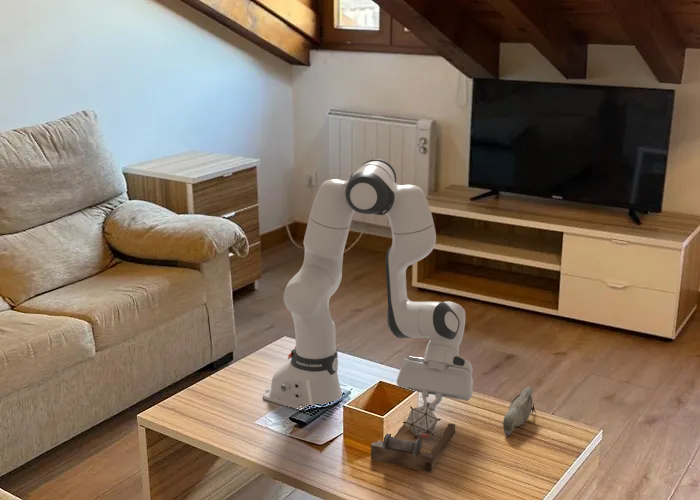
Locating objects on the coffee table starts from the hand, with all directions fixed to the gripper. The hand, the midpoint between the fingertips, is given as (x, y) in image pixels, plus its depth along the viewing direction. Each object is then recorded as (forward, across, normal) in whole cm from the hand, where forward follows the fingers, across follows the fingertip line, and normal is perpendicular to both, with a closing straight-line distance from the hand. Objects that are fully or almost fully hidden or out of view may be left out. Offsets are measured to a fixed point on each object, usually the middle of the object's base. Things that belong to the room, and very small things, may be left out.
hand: (428, 409), depth 220 cm
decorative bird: (-3, +22, +10) cm, 24 cm away
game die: (+7, 0, -1) cm, 7 cm away
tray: (+11, 0, -5) cm, 12 cm away
